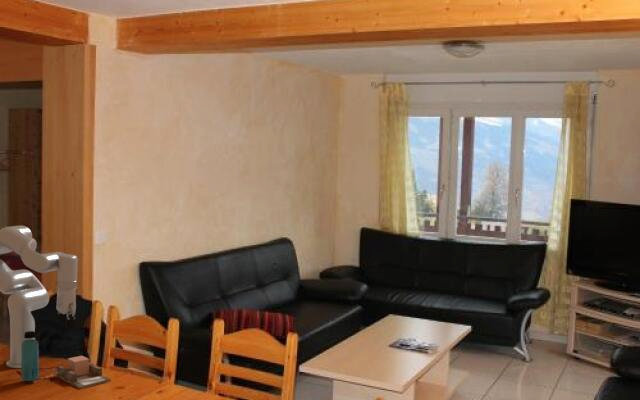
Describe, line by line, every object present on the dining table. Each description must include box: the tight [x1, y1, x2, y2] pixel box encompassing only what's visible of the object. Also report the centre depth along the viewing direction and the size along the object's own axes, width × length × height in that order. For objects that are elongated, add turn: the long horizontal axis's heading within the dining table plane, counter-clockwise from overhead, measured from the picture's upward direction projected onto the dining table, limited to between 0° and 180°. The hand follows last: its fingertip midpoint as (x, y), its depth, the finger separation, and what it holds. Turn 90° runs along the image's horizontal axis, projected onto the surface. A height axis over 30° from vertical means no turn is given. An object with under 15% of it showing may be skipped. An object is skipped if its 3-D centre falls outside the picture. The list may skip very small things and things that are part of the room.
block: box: [67, 355, 90, 376], centre depth 271 cm, size 6×6×6 cm
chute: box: [55, 361, 112, 390], centre depth 268 cm, size 20×13×4 cm, turn 46°
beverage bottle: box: [20, 331, 40, 382], centre depth 262 cm, size 6×7×20 cm
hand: (66, 326), depth 274 cm, fingers open, 9 cm apart
